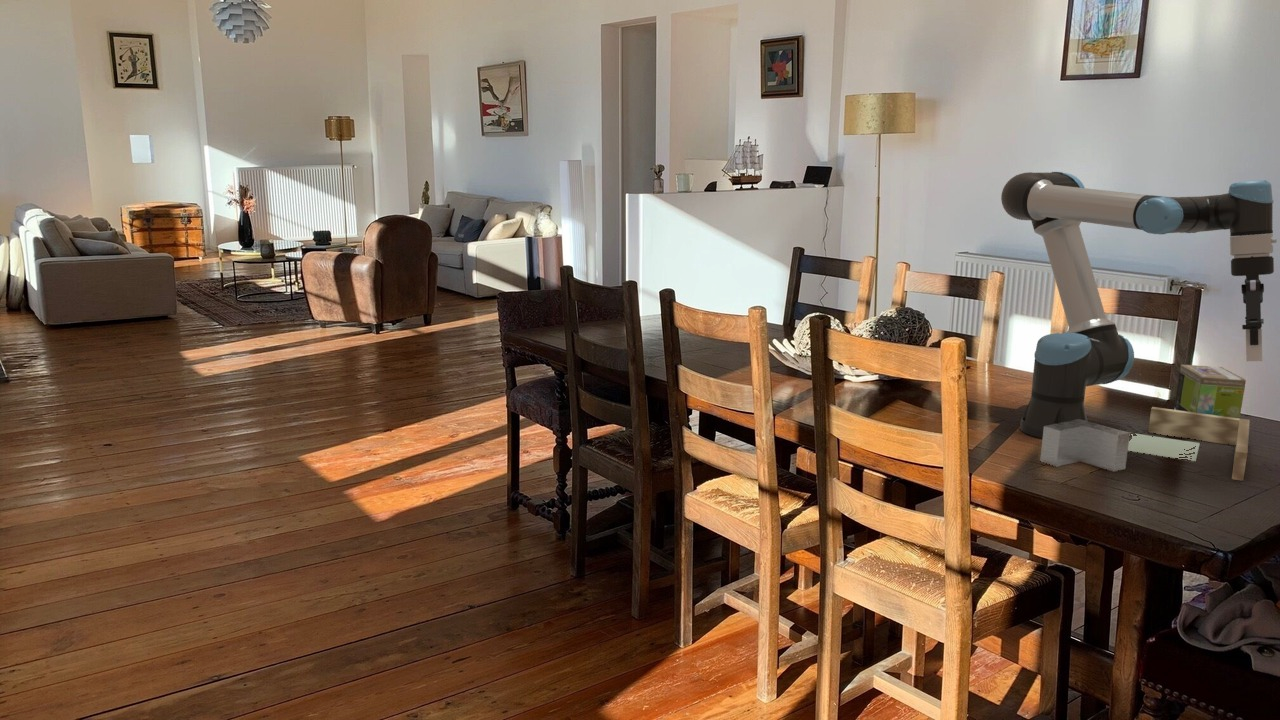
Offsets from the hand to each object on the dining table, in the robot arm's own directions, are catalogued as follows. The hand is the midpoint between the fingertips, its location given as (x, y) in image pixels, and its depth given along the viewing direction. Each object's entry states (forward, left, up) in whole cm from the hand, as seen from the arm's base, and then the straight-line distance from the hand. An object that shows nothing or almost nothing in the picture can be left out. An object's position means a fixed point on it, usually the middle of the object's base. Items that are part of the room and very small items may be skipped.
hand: (1253, 358), depth 203 cm
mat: (-17, -1, -24) cm, 30 cm away
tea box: (-20, +22, -24) cm, 38 cm away
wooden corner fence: (-10, 0, -24) cm, 26 cm away
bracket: (-17, -29, -24) cm, 41 cm away
